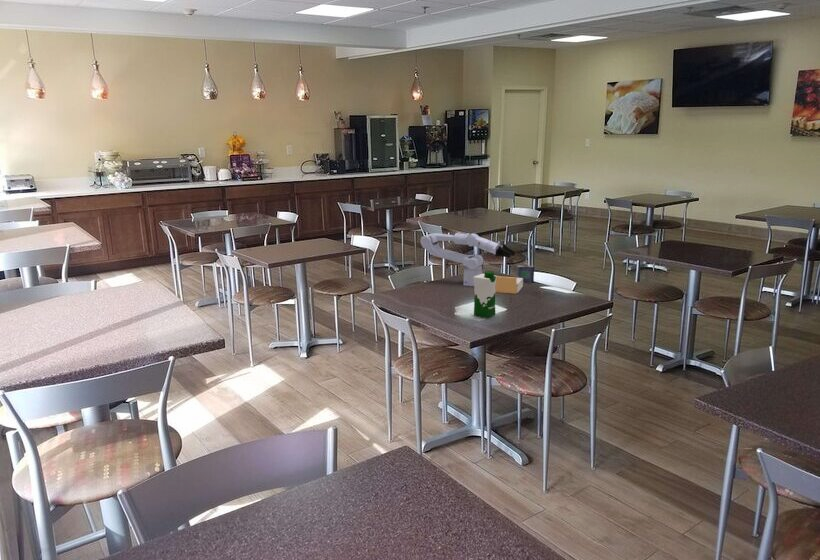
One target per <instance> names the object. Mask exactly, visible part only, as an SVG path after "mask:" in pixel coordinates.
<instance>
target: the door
mask: <svg viewBox="0 0 820 560" xmlns="http://www.w3.org/2000/svg"><path fill="white" fill-rule="evenodd" d="M496 276H497V280H496V286H495V293H502V294H517V293H516V286H517V277H515V278H513V277H511V276H501V277H499V276H498V275H496Z"/></svg>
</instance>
